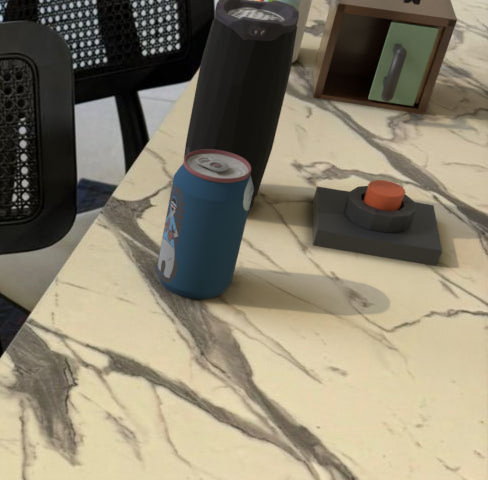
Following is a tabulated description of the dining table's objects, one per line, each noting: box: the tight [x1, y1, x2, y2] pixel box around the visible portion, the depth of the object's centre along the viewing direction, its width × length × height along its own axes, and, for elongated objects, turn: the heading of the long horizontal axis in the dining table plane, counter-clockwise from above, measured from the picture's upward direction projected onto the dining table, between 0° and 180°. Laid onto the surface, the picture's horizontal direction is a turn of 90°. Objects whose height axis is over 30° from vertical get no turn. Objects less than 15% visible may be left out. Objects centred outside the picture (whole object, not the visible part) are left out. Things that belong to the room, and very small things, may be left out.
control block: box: [312, 185, 443, 267], centre depth 103 cm, size 12×10×4 cm
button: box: [363, 179, 406, 211], centre depth 102 cm, size 4×4×2 cm
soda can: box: [156, 149, 254, 300], centre depth 91 cm, size 7×7×12 cm
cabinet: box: [312, 0, 458, 116], centre depth 130 cm, size 14×10×12 cm
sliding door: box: [368, 21, 439, 106], centre depth 124 cm, size 6×5×9 cm
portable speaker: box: [182, 0, 299, 211], centre depth 101 cm, size 9×9×20 cm
